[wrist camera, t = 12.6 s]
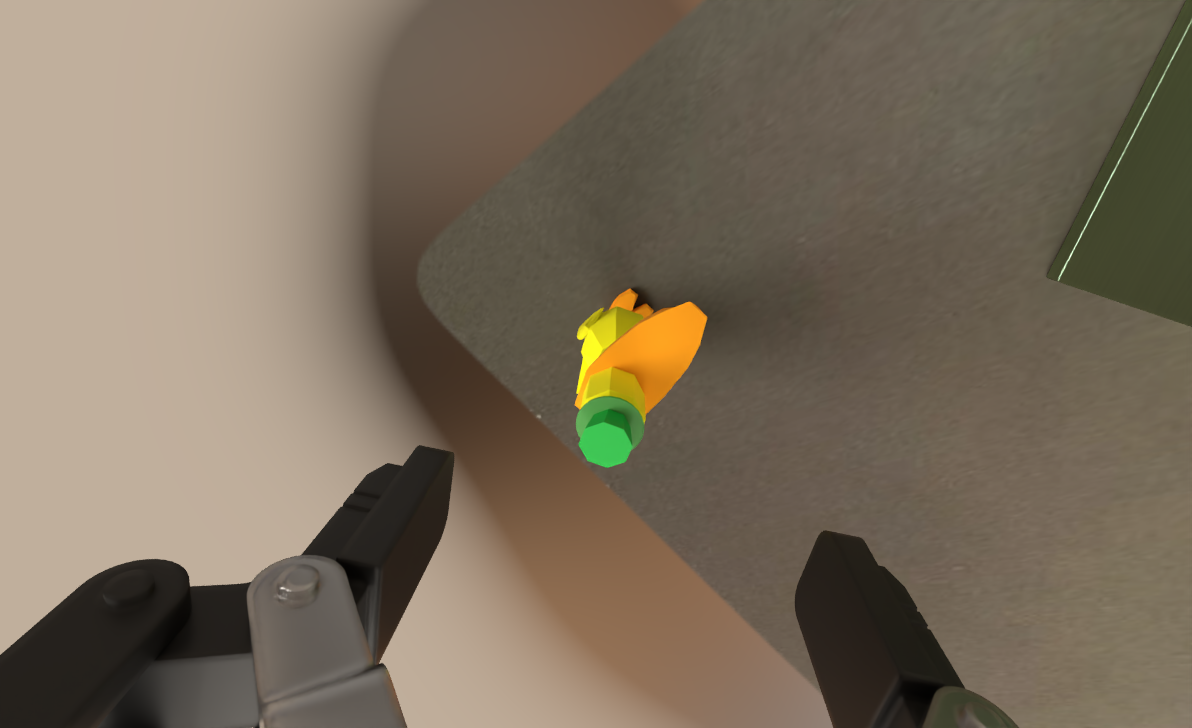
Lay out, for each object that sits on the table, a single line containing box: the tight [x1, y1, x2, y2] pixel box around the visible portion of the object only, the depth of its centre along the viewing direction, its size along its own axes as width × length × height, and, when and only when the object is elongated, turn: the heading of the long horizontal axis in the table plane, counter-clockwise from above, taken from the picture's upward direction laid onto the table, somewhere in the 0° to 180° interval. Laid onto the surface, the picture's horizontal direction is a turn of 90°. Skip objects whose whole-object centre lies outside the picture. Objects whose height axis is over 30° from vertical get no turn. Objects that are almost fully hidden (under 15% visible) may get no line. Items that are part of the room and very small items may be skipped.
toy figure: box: [575, 289, 707, 468], centre depth 22 cm, size 7×4×12 cm, turn 138°
